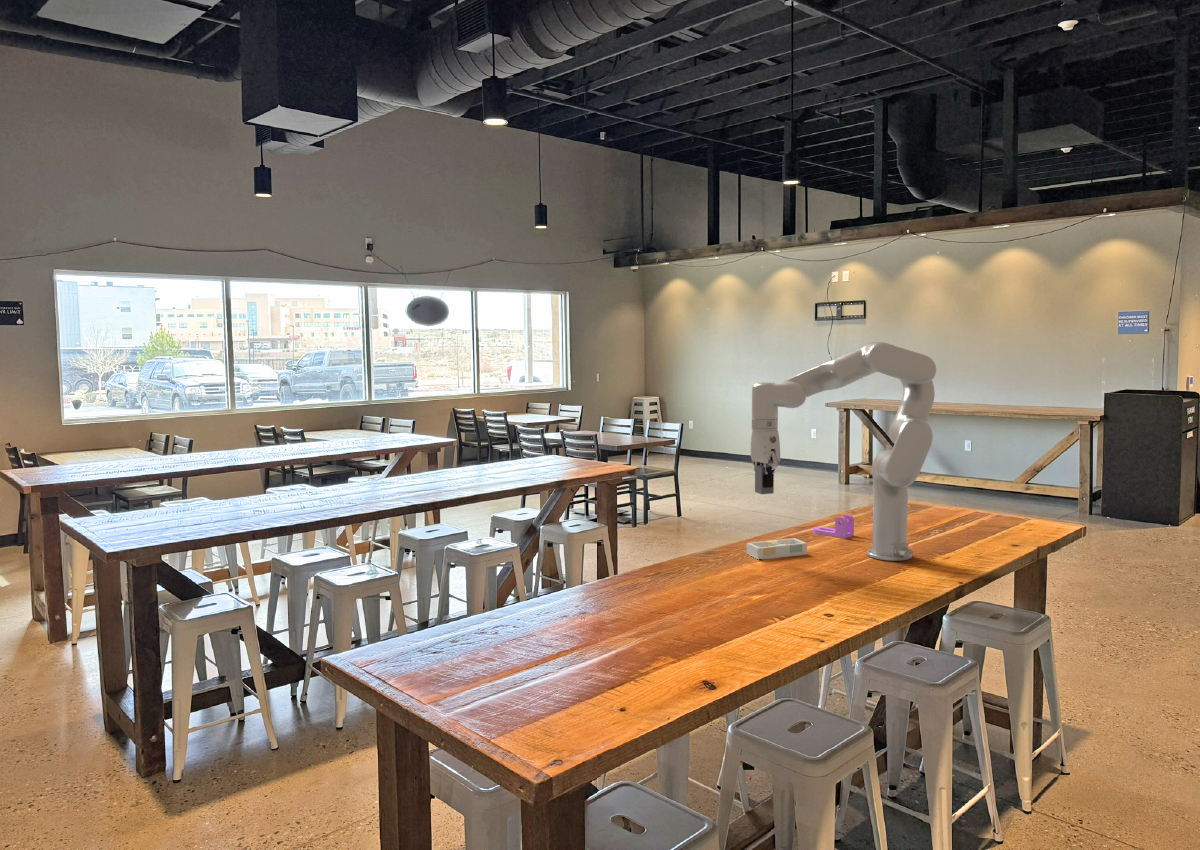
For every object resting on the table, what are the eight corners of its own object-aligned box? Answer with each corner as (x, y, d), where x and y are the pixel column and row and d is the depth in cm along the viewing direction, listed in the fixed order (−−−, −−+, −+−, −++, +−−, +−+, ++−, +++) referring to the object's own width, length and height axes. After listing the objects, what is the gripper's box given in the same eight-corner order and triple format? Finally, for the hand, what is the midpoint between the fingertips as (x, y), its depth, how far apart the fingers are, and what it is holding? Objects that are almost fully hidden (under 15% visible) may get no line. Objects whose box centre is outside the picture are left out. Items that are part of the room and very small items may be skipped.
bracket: (853, 536, 267) (854, 515, 266) (845, 539, 263) (845, 518, 262) (818, 530, 276) (818, 509, 275) (809, 532, 272) (809, 512, 272)
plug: (773, 493, 240) (773, 466, 240) (761, 494, 239) (761, 467, 238) (766, 491, 244) (767, 464, 243) (754, 491, 243) (755, 465, 242)
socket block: (807, 554, 244) (807, 542, 244) (758, 560, 239) (758, 547, 239) (794, 549, 251) (794, 537, 250) (746, 554, 246) (746, 542, 245)
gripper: (790, 426, 233) (790, 489, 235) (761, 421, 249) (761, 480, 251) (767, 427, 231) (767, 491, 232) (739, 422, 246) (739, 482, 248)
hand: (764, 485), depth 242 cm, fingers closed on plug, 3 cm apart
